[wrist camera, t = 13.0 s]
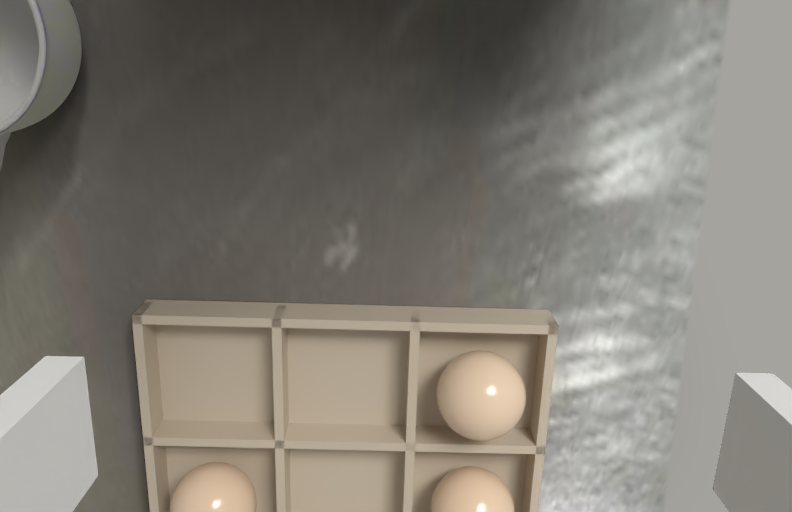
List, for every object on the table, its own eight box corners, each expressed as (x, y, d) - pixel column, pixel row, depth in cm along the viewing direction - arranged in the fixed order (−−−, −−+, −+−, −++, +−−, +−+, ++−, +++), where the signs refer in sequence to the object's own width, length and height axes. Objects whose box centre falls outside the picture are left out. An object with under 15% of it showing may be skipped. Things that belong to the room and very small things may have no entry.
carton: (147, 299, 43) (131, 314, 41) (548, 309, 44) (558, 325, 41) (166, 526, 48) (153, 553, 46) (525, 534, 49) (532, 561, 46)
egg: (182, 444, 46) (153, 495, 40) (263, 446, 46) (244, 498, 40) (187, 512, 47) (160, 569, 42) (265, 514, 47) (247, 572, 42)
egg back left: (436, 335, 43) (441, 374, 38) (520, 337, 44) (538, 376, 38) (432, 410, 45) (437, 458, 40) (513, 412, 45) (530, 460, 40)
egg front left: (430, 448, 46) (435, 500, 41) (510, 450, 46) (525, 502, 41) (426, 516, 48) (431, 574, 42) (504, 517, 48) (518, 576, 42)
